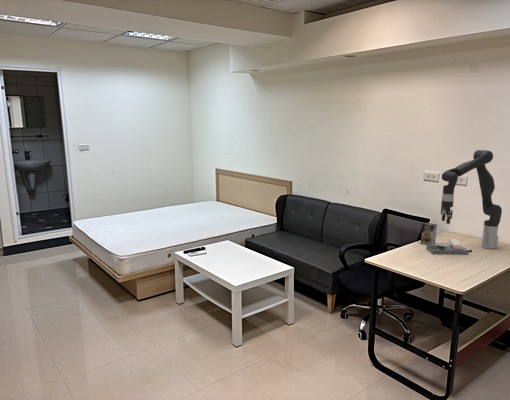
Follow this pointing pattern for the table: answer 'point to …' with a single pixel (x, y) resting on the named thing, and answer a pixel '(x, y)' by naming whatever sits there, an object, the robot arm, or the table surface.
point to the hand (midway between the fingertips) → (445, 222)
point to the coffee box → (428, 233)
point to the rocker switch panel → (446, 250)
